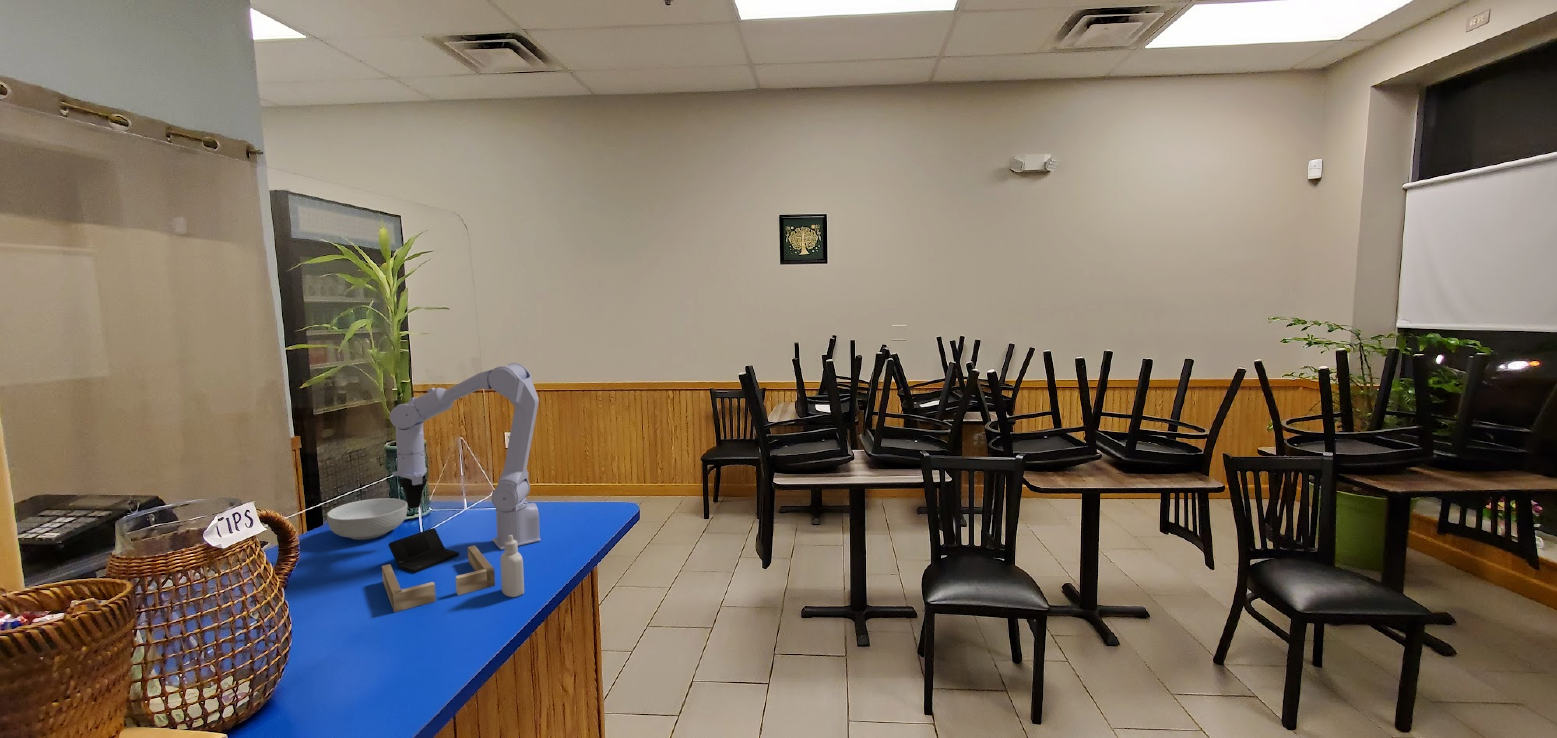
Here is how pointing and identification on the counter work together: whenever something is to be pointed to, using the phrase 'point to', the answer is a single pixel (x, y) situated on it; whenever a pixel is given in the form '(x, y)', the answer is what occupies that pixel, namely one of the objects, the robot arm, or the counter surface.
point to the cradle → (426, 592)
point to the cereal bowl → (367, 518)
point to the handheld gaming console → (420, 551)
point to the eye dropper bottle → (512, 569)
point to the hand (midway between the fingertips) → (414, 507)
